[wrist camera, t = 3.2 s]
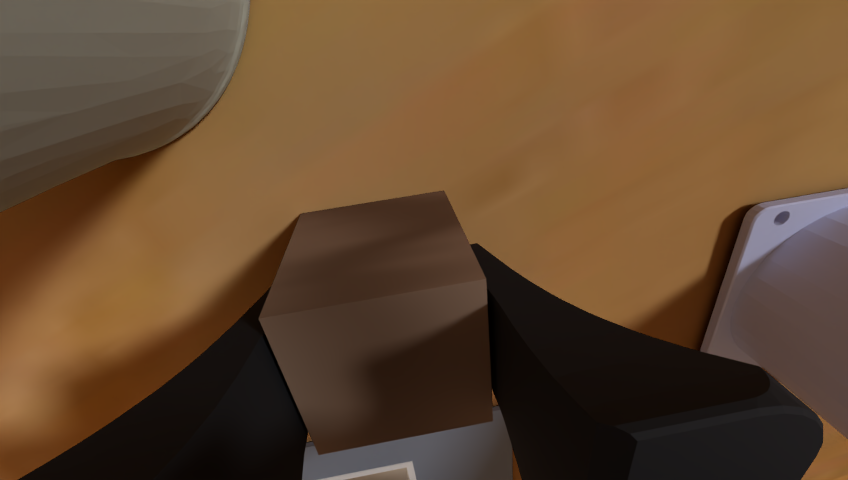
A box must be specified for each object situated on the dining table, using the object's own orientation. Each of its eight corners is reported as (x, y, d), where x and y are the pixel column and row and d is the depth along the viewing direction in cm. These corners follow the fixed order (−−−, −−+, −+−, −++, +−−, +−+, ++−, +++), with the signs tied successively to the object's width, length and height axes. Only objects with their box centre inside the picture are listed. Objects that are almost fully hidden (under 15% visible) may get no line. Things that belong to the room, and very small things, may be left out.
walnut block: (444, 190, 11) (486, 278, 7) (455, 302, 13) (493, 421, 9) (300, 213, 11) (258, 318, 7) (335, 324, 13) (318, 454, 9)
